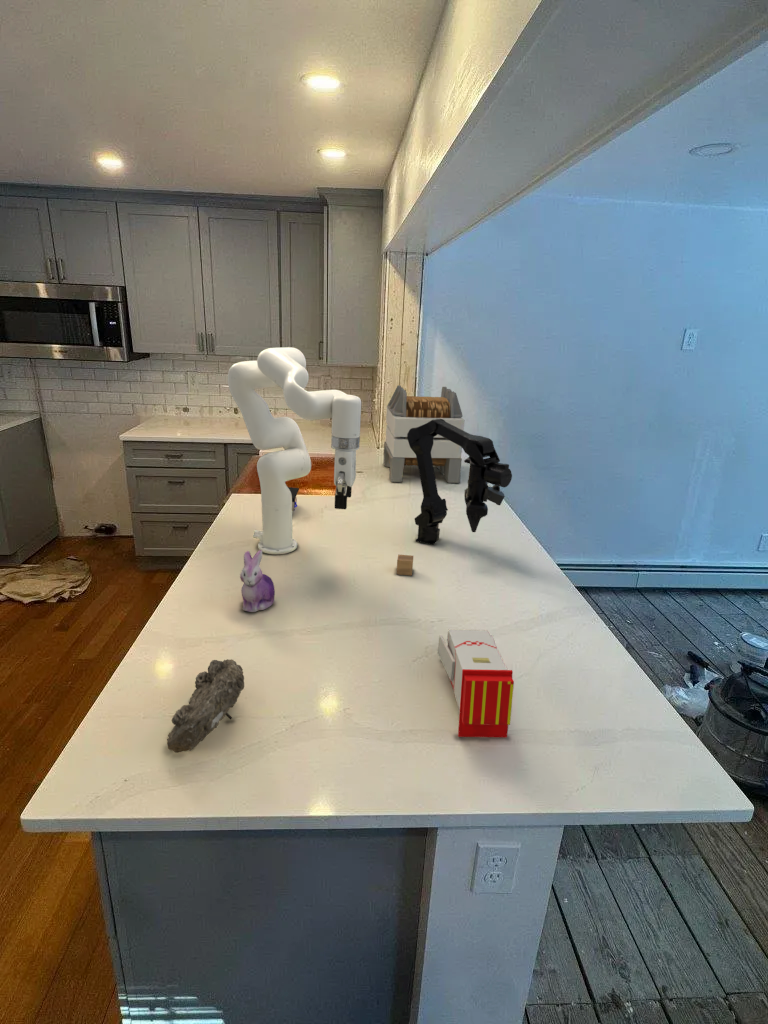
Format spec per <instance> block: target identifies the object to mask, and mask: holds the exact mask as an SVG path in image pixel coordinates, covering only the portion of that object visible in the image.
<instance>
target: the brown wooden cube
mask: <svg viewBox="0 0 768 1024" xmlns="http://www.w3.org/2000/svg"><path fill="white" fill-rule="evenodd" d="M413 569H414V555H410V554H409V555H408V554H398V555H397V560H396V575H397V576H398V575H400V576H410V577H411V576H413Z"/></svg>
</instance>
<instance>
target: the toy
mask: <svg viewBox="0 0 768 1024" xmlns="http://www.w3.org/2000/svg"><path fill="white" fill-rule="evenodd" d="M446 640H447V643H446V641H445V639H444V636H443V635H442V634H439V637H438V646H437V656H438V657H439V659H440V661H441V663H442V666H443V668H444V670H445V672H446V674H447V677H448V679H449V681H450V684H451V687H452V690H453V693H454V697H455V701H456V705H457V708H458V711H459V714H458V715H459V716H458V730H457V731H458V732H457V737H458V738H508V731H509V726H510V725H511V717H512V707H513V697H514V696H513V695H514V684H515V680H514V679H513V673H514V671H513V670H512V669H508V667H507V665H506V662H505V661H504V659H503V658H502V655H501V653H500V651H499V649H498V647H497V643H496V639H495V637H494V635H493V634H491V632H490V631H489V629H467V628H466V629H465V628H463V629H461V628H460V629H459V628H448V630H447V639H446Z"/></svg>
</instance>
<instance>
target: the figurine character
mask: <svg viewBox="0 0 768 1024" xmlns="http://www.w3.org/2000/svg"><path fill="white" fill-rule="evenodd" d="M287 487H288V488H289V490H290V492H291V495H292V512H294V511H295V509H296V508H297V507H298V504H297V502H298V498H297V495H298V493H299V491H300V488H299V487H291V486H287Z"/></svg>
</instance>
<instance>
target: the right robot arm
mask: <svg viewBox="0 0 768 1024" xmlns="http://www.w3.org/2000/svg"><path fill="white" fill-rule="evenodd" d="M438 434H439V435H440V436H442V437H444V438H446V439H448V440H450V441H452V442H454V443H455V444H457V445H459V446H461V447H462V451H463V452H464V453H465V454H466V455H467V456H468V457H467V458H465V459H464V460H463V462H464V463H466V464H468V465H469V470H468V479H467V487H466V489H464V495H463V496H464V503H465V514H466V517H467V520H468V525H469V527H470V531H471V532H472V533H476V532H477V530H478V526H479V524H480V521H481V520H482V518H484V517H486V516H488V514H489V513H488V512H489V508H488V507H489V506H488V505H487V504H486V503H487V502H488V501H489V502H492V503H494V504H496V505H497V506H501V505H502V502H503V501H504V499H505V497H506V496H505V493H504V492H503V491H502V490H501V488H507V487H508V486H509V485H510V483H511V481H512V479H513V473H512V470H511V469H510V464H508V463H502V462H501V459H500V457H499V455H498V453H497V450H496V448H495V445H494V441H493V440H492V439H491V438H490V437H486V436H482V435H478V434H477V435H475V434H471V433H469V432H467V431H465V430H464V431H463V430H461V429H459V428H457V427H455V426H453V425H451V424H449V423H447V422H445V420H443V419H435V420H431V421H430V422H428V423H426V424H424V425H422V426H419V427H416V428H411V429H410V430H409V432H408V433H407V439H408V442H409V445H410V448H411V449H412V451H413V452H414V453H415V454H416V457H417V463H418V466H417V468H418V474H419V480H420V485H421V491H422V496H423V498H422V501H421V504H420V513H419V514H418V515H417V516H416V517H414V523H415V525H416V526H418V527H417V538H416V539H415V542H417V543H421V544H425V545H430V546H435V544H436V543H437V542H438V541H439V540H440V532H441V528H439V526H440V524H442V523H443V521H444V520H445V518H446V516H447V515H448V511H449V509H448V506H447V500H446V498H442V497H441V496H440V495H439V491H438V486H437V485H438V484H437V480H436V476H435V470H434V469H435V468H434V466H433V463H432V457H431V450H432V446H433V437H435V436H436V435H438ZM488 484H490V485H493V486H489V485H488Z"/></svg>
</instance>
